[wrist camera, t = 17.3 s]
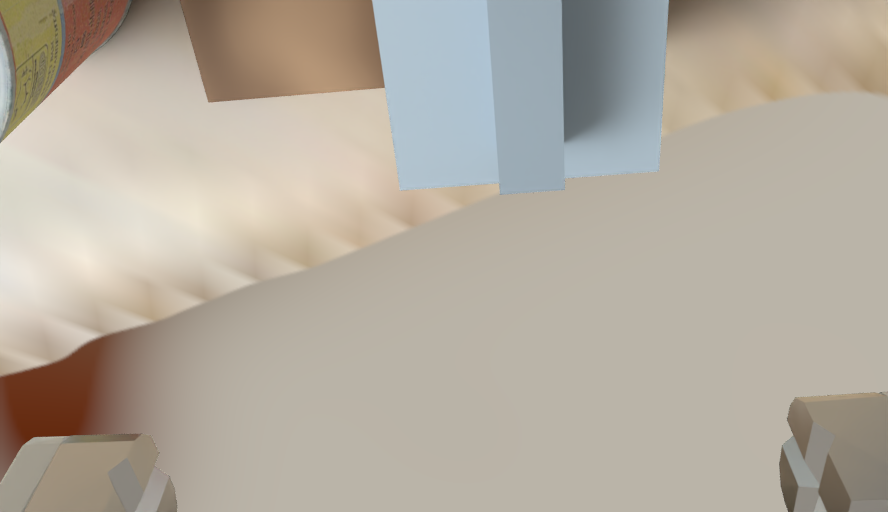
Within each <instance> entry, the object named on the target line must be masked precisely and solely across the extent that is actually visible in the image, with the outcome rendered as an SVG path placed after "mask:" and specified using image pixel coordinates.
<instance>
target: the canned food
mask: <svg viewBox="0 0 888 512" xmlns="http://www.w3.org/2000/svg"><path fill="white" fill-rule="evenodd" d="M131 1H132V0H0V143H1V142H2V141H3V140H4V139H5V138H6V137H7V136H8V135H9V134H10V133H11V132H12V131H13V130H14V129H15V128H16V127H17V126H18V125H19V124H20V123H21V122H22V121H23V120H24V119H25V118H26V117H27V116H28V115H29V114H30V113H31V112H32V111H33V110H34V109H35V108H37V107H38V106H39V105H40V104H41V103H42V102H43V101H44V100H45V99H46V98H47V97H48V96H49V95H50V94H51V93H52V92H53V91H54V90H55V89H56V88H57V87H58V86H59V85H60V84H61V83H62V82H63V81H64V80H65V79H66V78H67V77H68V76H69V75H70V74H71V73H72V72H73V71H74V70H75V69H76V68H77V67H78V66H79V65H80V64H81V63H82V62H84V61H85V60H86V59H87V58H88V57H89V56H90V55H91V54H92V53H93V52H95V51H96V50H98V49H99V48H100V47H102V46H103V45H104V44H105V43H106V42H107V41H108V40H109V39H110V38H111V37H112V36H113V35H114V34H115V32H116V31H117V30H118V28H119V27H120V25H121V24H122V22H123V20H124V18H125V16H126V14H127V13H128V10H129V7H130V4H131Z"/></svg>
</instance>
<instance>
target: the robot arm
mask: <svg viewBox="0 0 888 512" xmlns="http://www.w3.org/2000/svg"><path fill="white" fill-rule="evenodd" d="M787 421H788V423H789V426H790V428H791V431H792V433H793V436H792V437H791V438H790V439H789V440H788V441H786V442H785V443H784V444H783V445H782V449H781V456H780V462H779V469H780V483H781V489H782V493H783V497H784V501H785V505H786V507H787V510H788V512H888V392H880V393H858V394H842V395H827V396H811V397H796V398H795V399H794V400H793V402H792V403H791V405H790V408H789V413H788V417H787ZM158 456H159V451H158V449H157V447H156V445H155V443H154V440H153V438H152V436H151V435H146V434H116V435H115V434H114V435H78V436H69V437H34V438H33V439H31V440H30V441H28V442H27V443H26V444H24V445H23V446H22V448H21V449H20V451H19V453H18V454H17V456H16V458H15V460H14V461H13V463H12V464H11V466H10V468H9V470H8V471H7V473H6V475H5V476H4V478H3V480H2V481H1V483H0V512H177V500H176V494H175V488H174V486H173V483H172V481H171V479H170V476H169V475H167V474H166V473H164V472H163V471H161V470H160V469H158V468H157V467H155V463H156V461H157V458H158Z"/></svg>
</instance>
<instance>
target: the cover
mask: <svg viewBox="0 0 888 512" xmlns="http://www.w3.org/2000/svg"><path fill="white" fill-rule="evenodd" d="M372 3H373V9H374V16H375V23H376V30H377V37H378V43H379V50H380V57H381V64H382V70H383V77H384V84H385V91H386V97H387V104H388V111H389V118H390V124H391V131H392V138H393V145H394V151H395V158H396V165H397V172H398V179H399V185H400V190H413V189H427V188H440V187H454V186H467V185H481V184H494V183H499V186H500V195H502V194H515V193H530V192H542V191H557V190H565V178H575V177H588V176H602V175H615V174H630V173H643V172H656V171H659V163H660V145H661V128H662V110H663V93H664V75H665V58H666V40H667V23H668V5H669V0H372Z"/></svg>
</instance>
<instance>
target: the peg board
mask: <svg viewBox="0 0 888 512" xmlns="http://www.w3.org/2000/svg"><path fill="white" fill-rule="evenodd" d="M180 3H181V6H182V10H183V13H184V17H185V20H186V24H187V28H188V31H189V35H190V38H191V42H192V45H193V49H194V53H195V56H196V60H197V63H198V67H199V70H200V74H201V77H202V81H203V85H204V88H205V92H206V95H207V99H208V102H219V101H231V100H243V99H255V98H267V97H279V96H291V95H303V94H315V93H327V92H339V91H351V90H363V89H375V88H385V84H384V77H383V70H382V64H381V57H380V50H379V43H378V37H377V30H376V23H375V16H374V9H373V3H372V0H180Z"/></svg>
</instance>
